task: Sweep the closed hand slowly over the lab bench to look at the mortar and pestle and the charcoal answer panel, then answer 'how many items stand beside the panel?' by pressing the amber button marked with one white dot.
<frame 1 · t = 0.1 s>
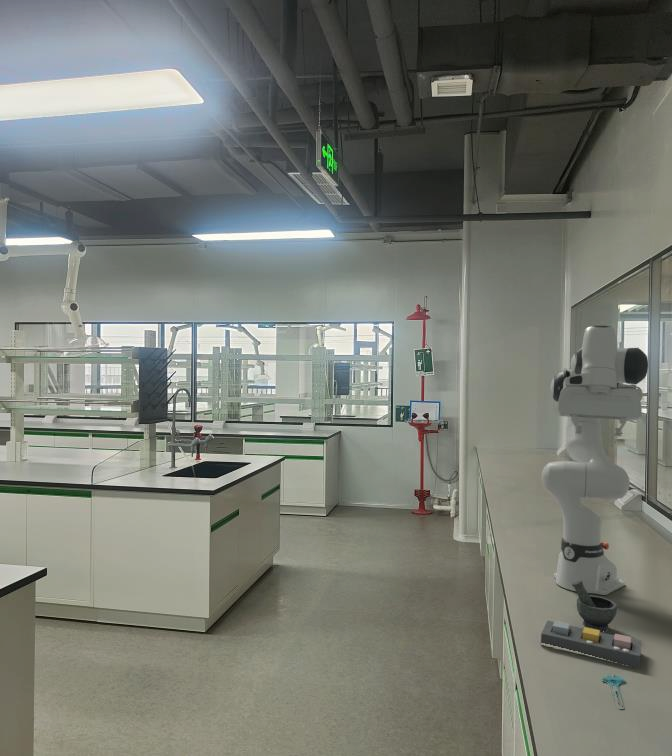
hand: (598, 434, 162), 52 cm above the countertop, tool tilted 20°, fingers open, 8 cm apart
answer panel: (590, 649, 154), on the countertop
button two: (622, 642, 151), point 3 cm above the countertop, slide at 0.0 cm
button one: (591, 635, 154), point 3 cm above the countertop, slide at 0.0 cm
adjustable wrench: (616, 695, 134), on the countertop
button none: (561, 629, 158), point 3 cm above the countertop, slide at 0.0 cm
mortar and pestle: (592, 627, 168), on the countertop
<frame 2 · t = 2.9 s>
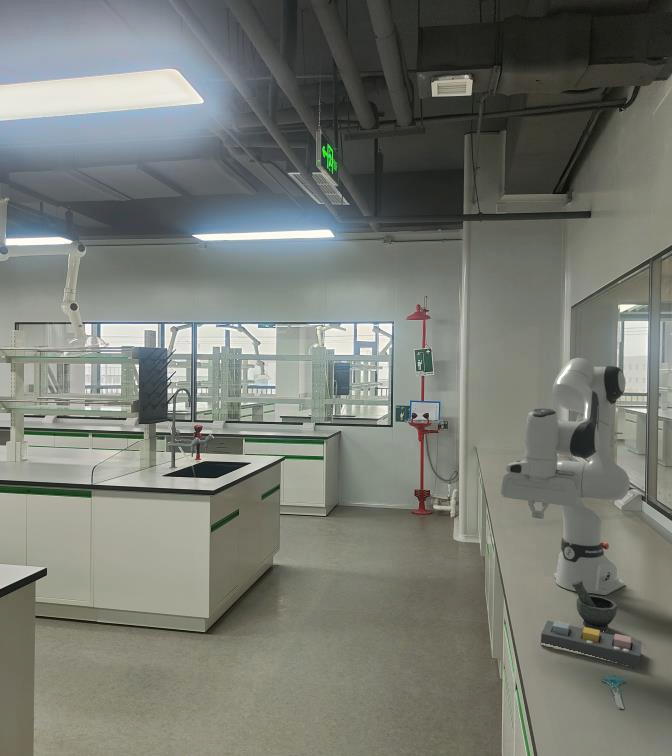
hand: (537, 517, 174), 27 cm above the countertop, tool pointing down, fingers closed
nothing on the countertop moved.
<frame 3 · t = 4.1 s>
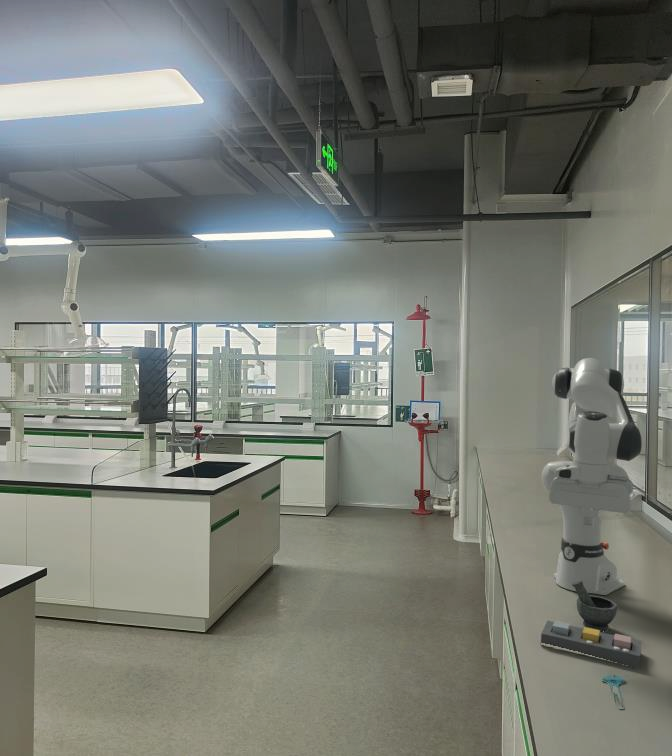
hand: (587, 524, 168), 27 cm above the countertop, tool pointing down, fingers closed
nothing on the countertop moved.
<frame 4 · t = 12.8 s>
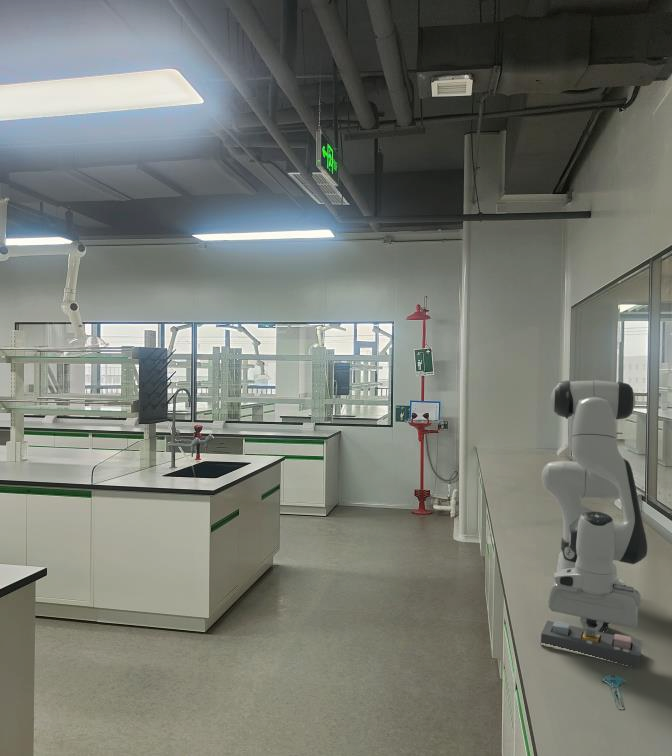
hand: (591, 636, 154), 3 cm above the countertop, tool pointing down, fingers closed, pressing on button one
button one: (590, 640, 154), point 2 cm above the countertop, slide at 1.2 cm, touching gripper
everything else where it was.
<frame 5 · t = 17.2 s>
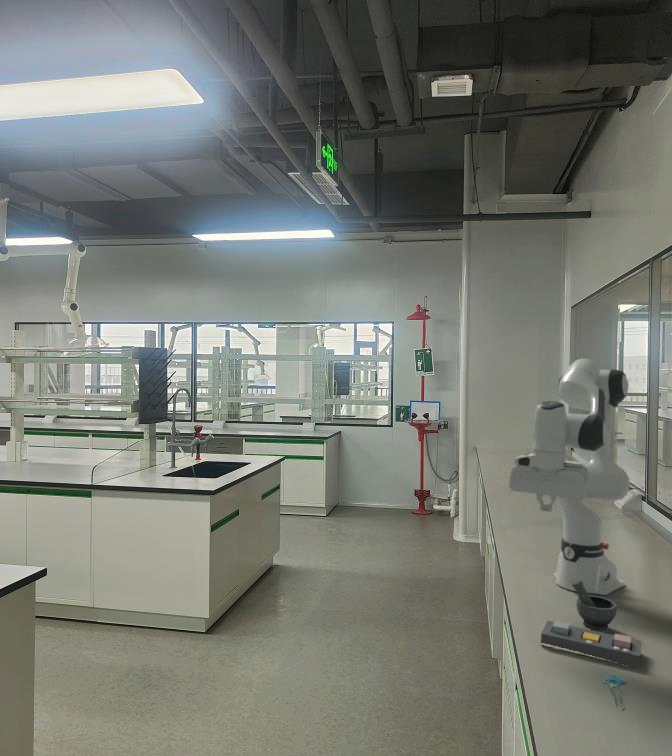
hand: (546, 510, 173), 29 cm above the countertop, tool pointing down, fingers closed
button one: (590, 640, 154), point 2 cm above the countertop, slide at 1.3 cm
everything else where it was.
at the end: button one slide at 1.3 cm; button none slide at 0.0 cm; button two slide at 0.0 cm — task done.
